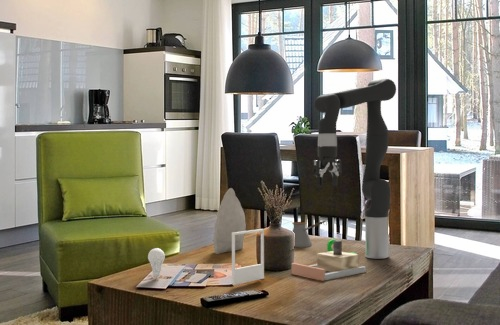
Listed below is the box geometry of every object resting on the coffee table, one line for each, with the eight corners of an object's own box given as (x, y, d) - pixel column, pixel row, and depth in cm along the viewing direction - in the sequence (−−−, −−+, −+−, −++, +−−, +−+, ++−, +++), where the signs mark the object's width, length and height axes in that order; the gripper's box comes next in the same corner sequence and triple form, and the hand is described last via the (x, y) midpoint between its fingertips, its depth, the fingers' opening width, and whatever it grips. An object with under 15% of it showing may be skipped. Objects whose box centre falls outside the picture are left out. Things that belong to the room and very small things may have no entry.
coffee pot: (281, 250, 282) (281, 218, 281) (298, 247, 290) (298, 216, 289) (317, 256, 266) (317, 221, 266) (333, 252, 274) (333, 219, 274)
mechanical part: (329, 260, 258) (329, 241, 258) (327, 257, 264) (327, 239, 264) (357, 259, 259) (357, 240, 258) (354, 257, 264) (354, 238, 264)
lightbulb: (167, 277, 224) (167, 247, 224) (160, 280, 218) (159, 250, 218) (153, 276, 226) (152, 246, 226) (145, 279, 220) (144, 249, 220)
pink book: (334, 265, 244) (334, 255, 244) (365, 271, 232) (365, 261, 231) (291, 273, 229) (291, 263, 229) (322, 280, 216) (322, 269, 216)
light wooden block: (334, 265, 241) (334, 238, 241) (358, 270, 232) (358, 241, 232) (317, 269, 235) (317, 240, 234) (340, 273, 225) (340, 244, 225)
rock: (220, 259, 259) (220, 189, 258) (206, 257, 265) (206, 188, 264) (252, 253, 273) (251, 187, 272) (237, 251, 279) (237, 186, 278)
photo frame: (261, 278, 222) (261, 228, 221) (264, 278, 221) (263, 229, 221) (231, 284, 212) (231, 232, 211) (233, 284, 211) (233, 233, 211)
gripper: (332, 145, 248) (332, 185, 248) (307, 145, 238) (307, 186, 239) (346, 145, 242) (346, 186, 242) (321, 145, 233) (321, 187, 233)
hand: (327, 186), depth 241 cm, fingers open, 8 cm apart
